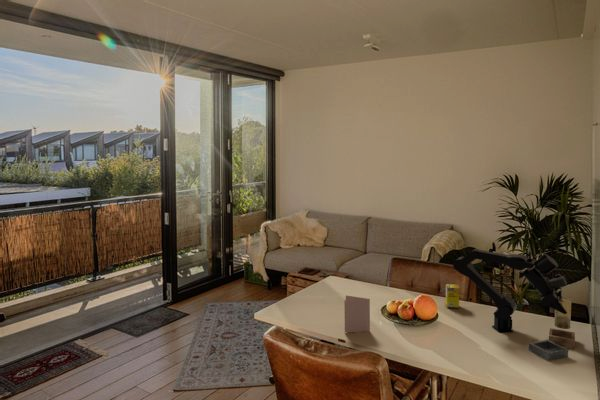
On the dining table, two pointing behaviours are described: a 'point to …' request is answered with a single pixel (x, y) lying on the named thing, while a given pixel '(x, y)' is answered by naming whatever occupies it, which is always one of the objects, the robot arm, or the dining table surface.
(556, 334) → the walnut socket
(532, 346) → the tray
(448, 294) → the supplement box
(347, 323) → the greeting card
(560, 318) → the tan cylinder
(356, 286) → the dining table surface
